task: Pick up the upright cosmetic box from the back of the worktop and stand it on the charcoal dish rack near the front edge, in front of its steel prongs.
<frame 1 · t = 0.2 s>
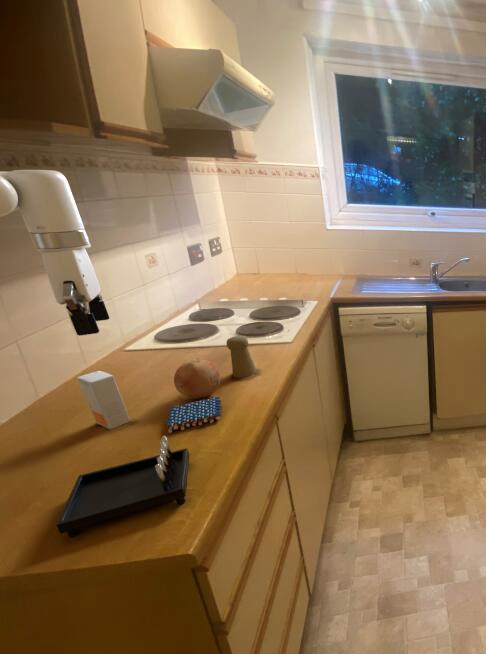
hand: (94, 326, 88), 25 cm above the countertop, tool pointing down, fingers open, 9 cm apart
pepper mill: (245, 373, 125), on the countertop
woven mat: (196, 418, 103), on the countertop
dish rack: (135, 496, 77), on the countertop
cosmetic box: (114, 423, 100), on the countertop
onion: (202, 396, 112), on the countertop
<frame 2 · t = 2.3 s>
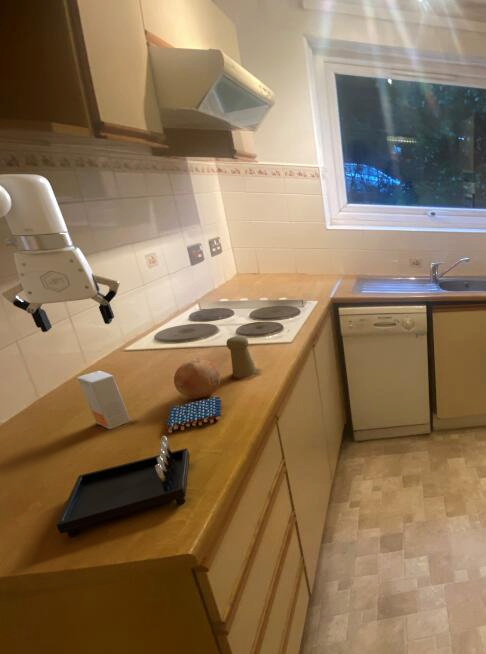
hand: (79, 326, 91), 24 cm above the countertop, tool pointing down, fingers open, 9 cm apart
nothing on the countertop moved.
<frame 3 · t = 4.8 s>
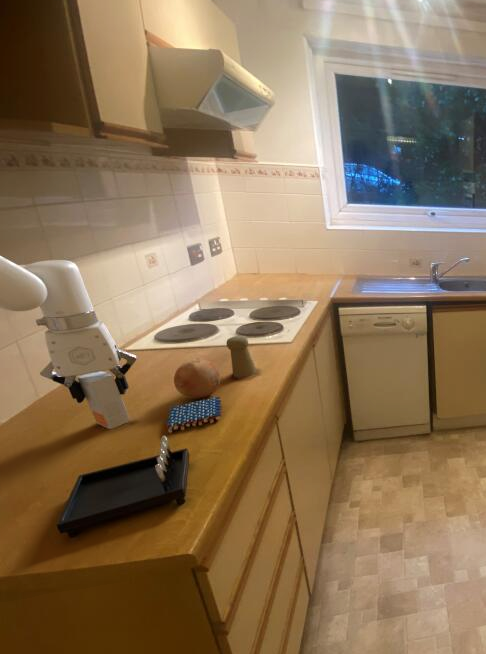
hand: (103, 395, 97), 7 cm above the countertop, tool pointing down, fingers closed on cosmetic box, 6 cm apart
cosmetic box: (114, 423, 100), on the countertop, touching gripper
everything else where it was.
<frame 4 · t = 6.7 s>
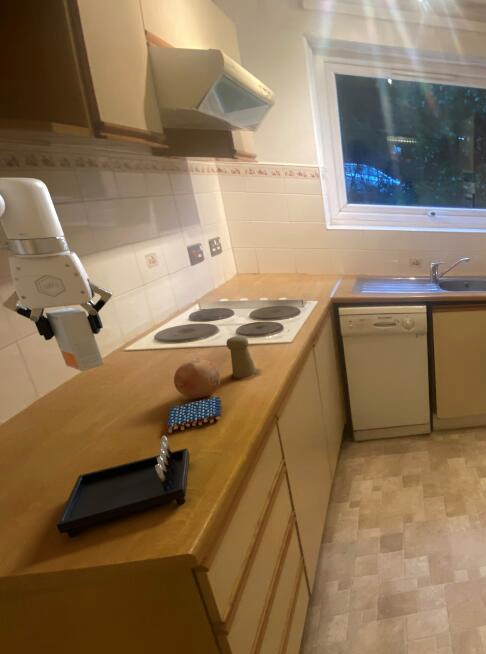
hand: (73, 334, 89), 23 cm above the countertop, tool pointing down, fingers closed on cosmetic box, 6 cm apart
cosmetic box: (86, 366, 92), point 15 cm above the countertop, touching gripper
everything else where it was.
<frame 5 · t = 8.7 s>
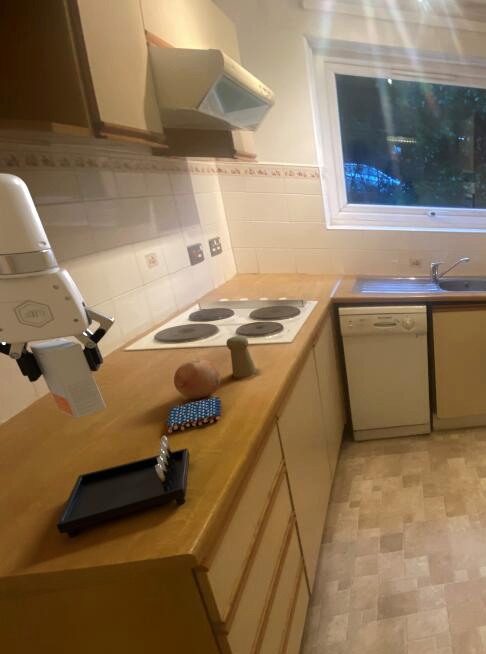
hand: (66, 372, 70), 24 cm above the countertop, tool pointing down, fingers closed on cosmetic box, 6 cm apart
cosmetic box: (83, 411, 73), point 16 cm above the countertop, touching gripper
everything else where it was.
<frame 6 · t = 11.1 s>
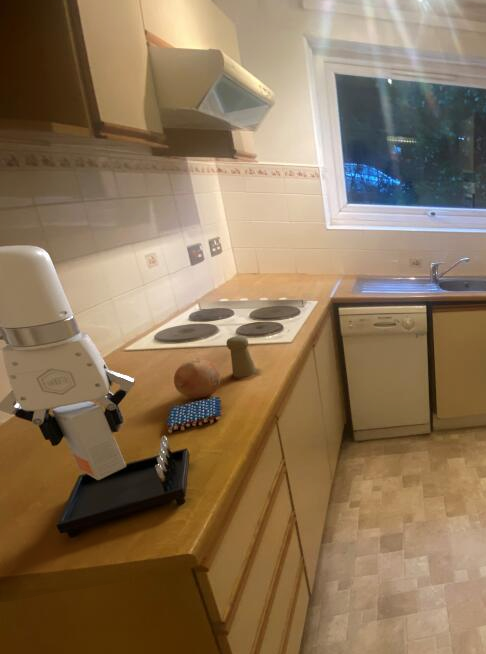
hand: (88, 433, 71), 14 cm above the countertop, tool pointing down, fingers closed on cosmetic box, 6 cm apart
cosmetic box: (104, 470, 74), point 7 cm above the countertop, touching gripper
everything else where it was.
when the fingers open (9 cm above the countertop, at t = 12.9 s): cosmetic box stays where it is, resting on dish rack.
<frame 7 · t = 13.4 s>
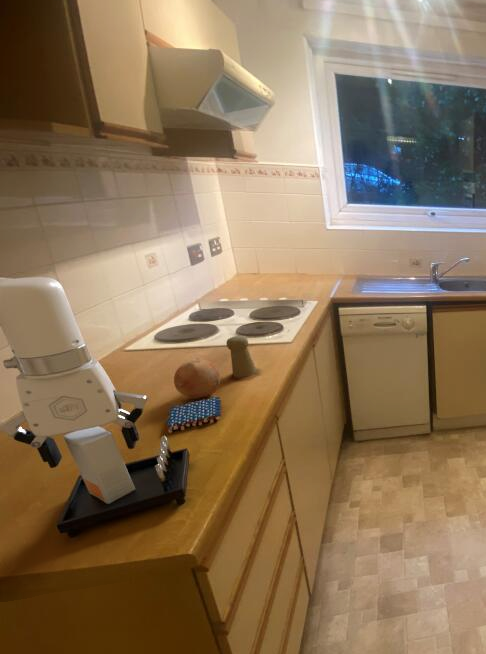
hand: (96, 453, 72), 10 cm above the countertop, tool pointing down, fingers open, 9 cm apart
cosmetic box: (113, 493, 75), point 2 cm above the countertop, touching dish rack
everything else where it was.
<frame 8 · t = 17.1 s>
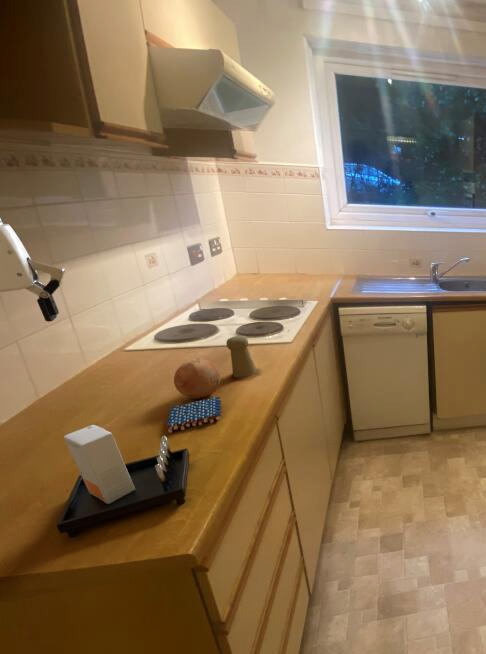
hand: (12, 324, 72), 30 cm above the countertop, tool pointing down, fingers open, 9 cm apart
nothing on the countertop moved.
at the end: cosmetic box inside the target area on the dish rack (1.6 cm from its centre), point 1.9 cm above the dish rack's base; cosmetic box tilted 0°; the gripper is holding nothing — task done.
